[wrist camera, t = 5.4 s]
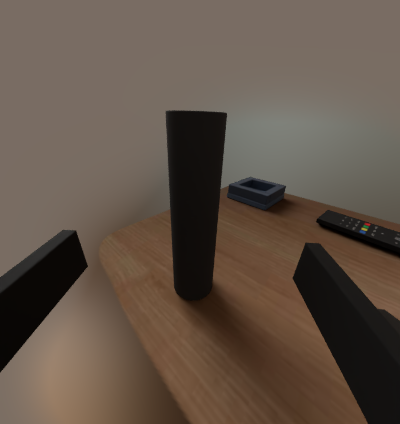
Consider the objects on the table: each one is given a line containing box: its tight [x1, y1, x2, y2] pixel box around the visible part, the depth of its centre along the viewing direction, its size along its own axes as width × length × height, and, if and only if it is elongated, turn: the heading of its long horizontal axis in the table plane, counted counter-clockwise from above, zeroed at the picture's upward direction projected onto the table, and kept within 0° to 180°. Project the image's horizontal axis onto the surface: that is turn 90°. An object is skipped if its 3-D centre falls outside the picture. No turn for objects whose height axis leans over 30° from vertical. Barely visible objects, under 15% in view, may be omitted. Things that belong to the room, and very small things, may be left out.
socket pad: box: [227, 177, 286, 210], centre depth 41 cm, size 9×9×3 cm
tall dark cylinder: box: [166, 111, 227, 300], centre depth 16 cm, size 4×4×16 cm
